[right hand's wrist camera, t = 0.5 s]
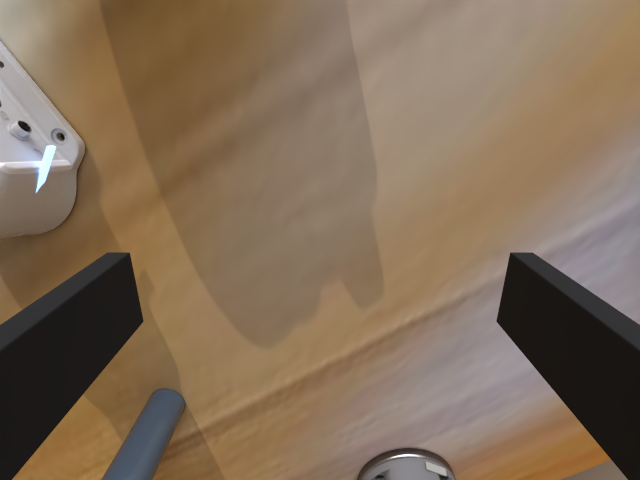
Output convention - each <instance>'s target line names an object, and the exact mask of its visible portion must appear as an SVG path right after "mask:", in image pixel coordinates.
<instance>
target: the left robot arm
mask: <svg viewBox="0 0 640 480" xmlns="http://www.w3.org/2000/svg"><path fill="white" fill-rule="evenodd" d="M61 133H62V134H63V135H64V136H65V139H64V140H63V139H62V137H61ZM84 154H85V145H84V142H83V140H82V139H81V138H80V137H79V135H78V134H77V133H76V132H75V130H74V129H73V128H72V127H71V126H70V124H69V123H68V122H67V121H66V120H65V118H64V117H63V116H62V115H61V114H60V112H59V111H58V110H57V109H56V107H55V106H54V105H53V104H52V103H51V101H50V100H49V99H48V98H47V97H46V95H45V94H44V93H43V92H42V91H41V89H40V88H39V87H38V86H37V85H36V83H35V82H34V81H33V80H32V78H31V77H30V76H29V75H28V74H27V72H26V71H25V70H24V69H23V68H22V66H21V65H20V64H19V63H18V62H17V60H16V59H15V58H14V57H13V56H12V54H11V53H10V52H9V51H8V49H7V48H6V47H5V46H4V45H3V43H2V42H1V41H0V239H5V238H10V237H16V236H24V235H37V234H42V233H45V232H48V231H50V230H52V229H54V228H56V227H57V226H59V225H60V224H61V223H62V222H63V221H64V220H65V219H66V218H67V217H68V215H69V214H70V212H71V210H72V208H73V205H74V202H75V198H76V189H77V185H76V176H77V169H78V167H79V165H80V163H81V161H82V159H83V157H84Z"/></svg>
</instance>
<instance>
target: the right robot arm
mask: <svg viewBox="0 0 640 480" xmlns="http://www.w3.org/2000/svg"><path fill="white" fill-rule="evenodd" d="M142 322H143V317H142V312H141V307H140V302H139V297H138V292H137V287H136V282H135V277H134V272H133V267H132V262H131V257H130V253H106V254H105V255H103V256H102V257H100V258H99V259H97V260H96V261H94V262H93V263H91V264H90V265H88V266H87V267H86V268H84V269H83V270H81V271H80V272H78V273H77V274H75V275H74V276H72V277H71V278H69V279H68V280H66V281H65V282H63V283H62V284H60V285H59V286H57V287H56V288H54V289H53V290H51V291H50V292H49V293H47V294H46V295H44V296H43V297H41V298H40V299H38V300H37V301H35V302H34V303H32V304H31V305H29V306H28V307H26V308H25V309H23V310H22V311H20V312H19V313H17V314H16V315H15V316H13V317H12V318H10V319H9V320H7V321H6V322H4V323H3V324H1V325H0V480H12V479H13V478H14V476H15V475H16V474H17V473H18V472H19V470H20V469H21V468H22V467H23V466H24V464H25V463H26V462H27V461H28V460H29V458H30V457H31V456H32V455H33V454H34V452H35V451H36V450H37V449H38V448H39V446H40V445H41V444H42V443H43V442H44V440H45V439H46V438H47V437H48V436H49V434H50V433H51V432H52V431H53V430H54V428H55V427H56V426H57V425H58V423H59V422H60V421H61V420H62V419H63V417H64V416H65V415H66V414H67V413H68V411H69V410H70V409H71V408H72V407H73V405H74V404H75V403H76V402H77V401H78V399H79V398H80V397H81V396H82V395H83V393H84V392H85V391H86V390H87V389H88V387H89V386H90V385H91V384H92V383H93V381H94V380H95V379H96V378H97V377H98V375H99V374H100V373H101V372H102V371H103V369H104V368H105V367H106V366H107V365H108V363H109V362H110V361H111V360H112V359H113V357H114V356H115V355H116V354H117V353H118V351H119V350H120V349H121V348H122V347H123V345H124V344H125V343H126V342H127V341H128V339H129V338H130V337H131V336H132V335H133V333H134V332H135V331H136V330H137V328H138V327H139V326H140V325H141V324H142ZM497 322H498V324H499V325H500V326H501V327H502V329H503V330H504V331H505V332H506V333H507V335H508V336H509V337H510V338H511V339H512V341H513V342H514V343H515V344H516V345H517V347H518V348H519V349H520V350H521V351H522V353H523V354H524V355H525V356H526V357H527V359H528V360H529V361H530V362H531V363H532V365H533V366H534V367H535V368H536V369H537V371H538V372H539V373H540V374H541V375H542V377H543V378H544V379H545V380H546V381H547V383H548V384H549V385H550V386H551V387H552V389H553V390H554V391H555V392H556V393H557V395H558V396H559V397H560V398H561V399H562V401H563V402H564V403H565V404H566V405H567V407H568V408H569V409H570V410H571V411H572V413H573V414H574V415H575V416H576V417H577V419H578V420H579V421H580V422H581V424H582V425H583V426H584V427H585V428H586V430H587V431H588V432H589V433H590V434H591V436H592V437H593V438H594V439H595V440H596V442H597V443H598V444H599V445H600V446H601V448H602V449H603V450H604V451H605V452H606V454H607V455H608V456H609V457H610V458H611V460H612V461H613V462H614V463H615V464H616V466H617V467H618V468H619V469H620V470H621V472H622V473H623V474H624V475H625V476H626V478H627V479H628V480H640V325H639V324H637V323H636V322H634V321H633V320H631V319H630V318H628V317H627V316H625V315H624V314H623V313H621V312H620V311H618V310H617V309H615V308H614V307H612V306H611V305H609V304H608V303H606V302H605V301H603V300H602V299H600V298H599V297H597V296H596V295H594V294H593V293H591V292H590V291H589V290H587V289H586V288H584V287H583V286H581V285H580V284H578V283H577V282H575V281H574V280H572V279H571V278H569V277H568V276H566V275H565V274H563V273H562V272H560V271H559V270H557V269H556V268H554V267H553V266H552V265H550V264H549V263H547V262H546V261H544V260H543V259H541V258H540V257H538V256H537V255H535V254H534V253H510V257H509V262H508V267H507V272H506V277H505V282H504V287H503V292H502V297H501V302H500V307H499V312H498V317H497ZM357 480H456V479H455V476H454V474H453V471H452V469H451V467H450V465H449V464H448V463H447V462H446V461H445V460H444V459H443V458H442V457H440V456H438V455H437V454H435V453H432V452H430V451H426V450H422V449H415V448H404V449H396V450H392V451H388V452H385V453H383V454H380V455H379V456H377V457H375V458H373V459H372V460H371V461H369V462H368V463H367V464H366V465H365V466H364V467H363V468H362V470H361V471H360V473H359V475H358V478H357Z"/></svg>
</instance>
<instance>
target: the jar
mask: <svg viewBox="0 0 640 480" xmlns="http://www.w3.org/2000/svg"><path fill="white" fill-rule="evenodd" d="M184 409H185V401H184V398H183V397H182V396H181V395H180V394H179V393H178V392H176V391H174V390H170V389H160V390H157V391H155V392H154V393H153V394H152V395H151V396H150V398H149V400H148V401H147V403H146V405H145V406H144V408H143V410H142V411H141V413H140V415H139V416H138V418H137V420H136V422H135V423H134V425H133V427H132V428H131V430H130V432H129V433H128V435H127V437H126V439H125V440H124V442H123V444H122V445H121V447H120V449H119V450H118V452H117V454H116V455H115V457H114V459H113V461H112V462H111V464H110V466H109V467H108V469H107V471H106V472H105V474H104V476H103V477H102V479H101V480H153V477H154V475H155V473H156V471H157V469H158V466H159V464H160V462H161V460H162V458H163V455H164V453H165V451H166V449H167V446H168V444H169V442H170V440H171V438H172V435H173V433H174V431H175V429H176V427H177V424H178V422H179V420H180V418H181V415H182V413H183V411H184Z"/></svg>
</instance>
